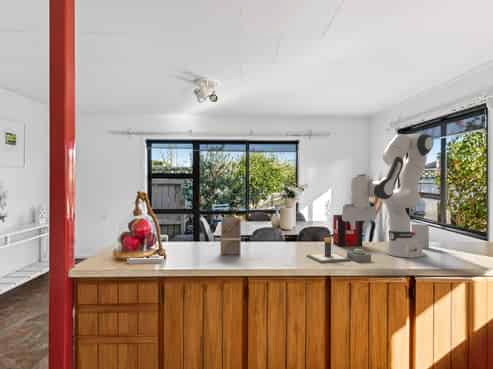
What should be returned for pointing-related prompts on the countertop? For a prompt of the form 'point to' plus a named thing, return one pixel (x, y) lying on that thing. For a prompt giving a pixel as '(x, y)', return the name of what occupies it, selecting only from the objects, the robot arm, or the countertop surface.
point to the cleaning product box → (346, 232)
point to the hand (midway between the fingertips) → (359, 228)
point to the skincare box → (421, 234)
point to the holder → (147, 259)
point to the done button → (358, 251)
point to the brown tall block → (230, 236)
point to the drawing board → (328, 258)
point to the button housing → (359, 257)
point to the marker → (327, 247)
